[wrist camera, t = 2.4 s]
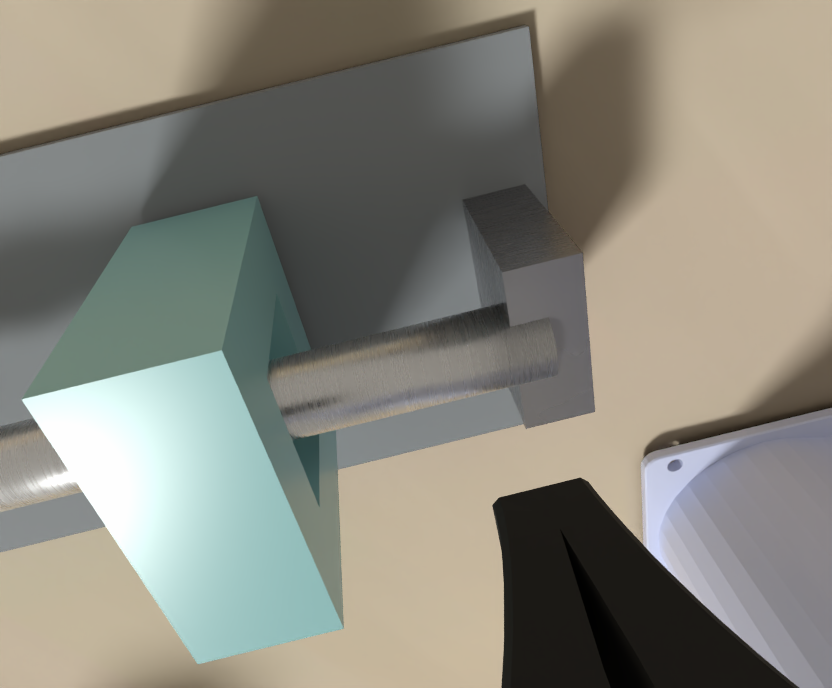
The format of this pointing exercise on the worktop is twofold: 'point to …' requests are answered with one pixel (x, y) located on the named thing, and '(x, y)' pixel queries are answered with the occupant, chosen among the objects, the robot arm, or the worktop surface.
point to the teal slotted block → (199, 433)
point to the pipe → (416, 350)
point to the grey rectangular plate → (285, 218)
